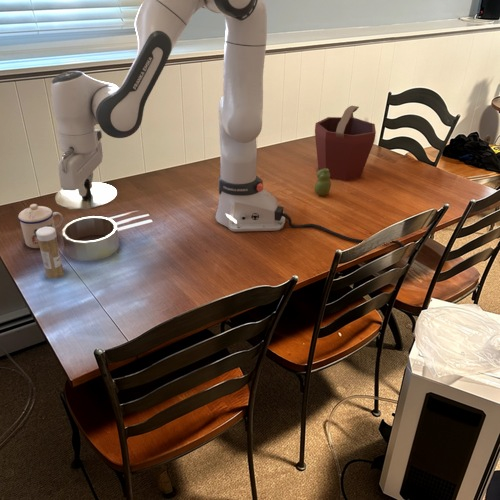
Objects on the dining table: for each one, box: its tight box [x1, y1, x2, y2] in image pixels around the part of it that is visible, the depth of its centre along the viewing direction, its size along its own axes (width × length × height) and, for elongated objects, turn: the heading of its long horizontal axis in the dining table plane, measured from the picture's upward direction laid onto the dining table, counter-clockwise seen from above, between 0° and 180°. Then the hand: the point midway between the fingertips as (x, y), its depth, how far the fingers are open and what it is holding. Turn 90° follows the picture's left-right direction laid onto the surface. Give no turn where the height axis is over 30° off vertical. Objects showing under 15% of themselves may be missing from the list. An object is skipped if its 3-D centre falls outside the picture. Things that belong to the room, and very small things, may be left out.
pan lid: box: [54, 179, 118, 211], centre depth 128 cm, size 16×16×5 cm
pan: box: [61, 215, 121, 262], centre depth 137 cm, size 15×15×6 cm
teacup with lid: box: [17, 203, 64, 249], centre depth 139 cm, size 12×9×12 cm
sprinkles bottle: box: [36, 227, 65, 279], centre depth 124 cm, size 5×5×13 cm
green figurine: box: [314, 168, 332, 197], centre depth 171 cm, size 6×5×10 cm
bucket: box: [314, 105, 377, 182], centre depth 185 cm, size 24×22×25 cm
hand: (86, 191), depth 128 cm, fingers closed on pan lid, 2 cm apart
